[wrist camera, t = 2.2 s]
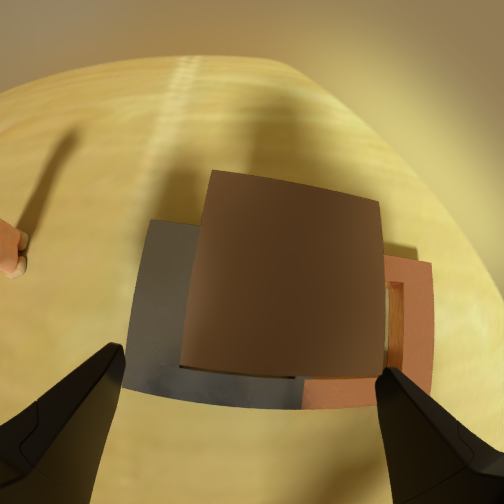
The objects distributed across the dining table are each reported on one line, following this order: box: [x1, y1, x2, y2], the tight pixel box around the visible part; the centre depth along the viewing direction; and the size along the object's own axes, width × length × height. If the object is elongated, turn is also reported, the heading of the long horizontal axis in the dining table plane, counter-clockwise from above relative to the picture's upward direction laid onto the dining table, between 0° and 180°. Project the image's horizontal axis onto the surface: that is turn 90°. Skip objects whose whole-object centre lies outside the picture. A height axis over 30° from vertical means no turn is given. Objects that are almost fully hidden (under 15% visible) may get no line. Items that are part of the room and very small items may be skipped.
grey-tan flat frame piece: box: [122, 220, 434, 410], centre depth 18 cm, size 22×11×2 cm, turn 84°
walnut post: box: [179, 170, 385, 377], centre depth 12 cm, size 4×4×13 cm
